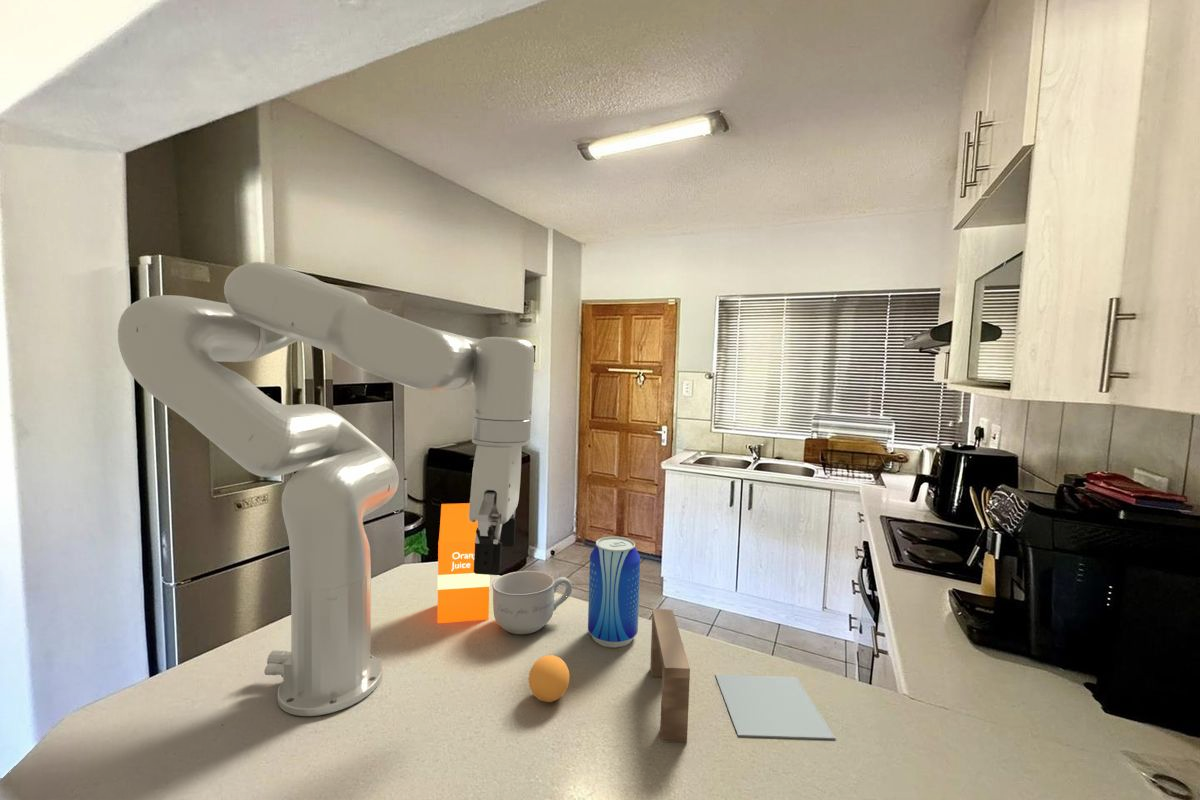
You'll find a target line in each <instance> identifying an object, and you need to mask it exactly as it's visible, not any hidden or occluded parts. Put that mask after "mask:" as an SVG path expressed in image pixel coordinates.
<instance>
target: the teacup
mask: <svg viewBox="0 0 1200 800" xmlns="http://www.w3.org/2000/svg"><path fill="white" fill-rule="evenodd" d="M561 584H564V585H565V590H564V592H563V593H562V595H561V596H559V597H558V598H557V599H555V593H556V591H557V588H558V587H559V585H561ZM491 586H492V606H493V617H494V620H495V621H496V623H497V625H499V626H500V627H501V628H502V629H504V630H505V631H507V632H508V633H511V634H515V635H527V634H533V633H535V632H538V631H539V630H542V628H543V627H544V626H545V625H546V624H548V622H549V621H550V620H551V618H552V616H553V614H554V612H555V611H556V610H557V608H558V607H559V606H560V605H561V604H563V603H564V602H566V601H567V600H568V599H569V598H570V596H571V594H572V591H573V585H572V582H571V581H570V579H568V578H567V577H565V576H560V577H559V576H558V578H556V579H554V577H553V576H552V575H550V574H549V573H546V572H543V571H537V570H520V571H513V572H509V573H506V574H503V575H500V576H499V577H497V578H495V579H494V581H493V582H492V584H491ZM566 596H567V597H566Z"/></svg>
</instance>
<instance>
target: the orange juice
mask: <svg viewBox="0 0 1200 800" xmlns="http://www.w3.org/2000/svg"><path fill="white" fill-rule="evenodd" d="M469 506H470V502H467V503H465V502H464V503H441V507H440V519H439V520H440V521H439V523H440V524H439V534H438V535H439V536H438V543H437V545H438V548H437V550H438V551H437V552H438V553H437V557H438V559H437V624H448V623H458V622H459V623H461V622H470V621H471V622H472V621H484V620H485V621H486V620H489V619H490V615H489V614H490V582H491V581H490V578H491V575H484V574H475V573H474V552H475V537H476V530H477V529H476V528H477V527H478V521H477V520H476V521H475V522H471V521H470V520H469Z"/></svg>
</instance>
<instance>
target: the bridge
mask: <svg viewBox="0 0 1200 800" xmlns="http://www.w3.org/2000/svg"><path fill="white" fill-rule="evenodd" d="M651 614H652V615H651V636H650V637H651V638H650V640H651V641H650V674H651V675H650V676H651V678H661V695H660V696H661V697H660V698H661V701H660V703H661V704H660V725H659V728H660V729H659V730H660V735H661V737H662V738H661V742H662V741H667V742H666V743H672V742H671V741H674V742H673V743H688V730H689V729H688V726H689V704H690V699H689V698H690V682H691V678H690V676H691V668H690V664H689V660H688V657H687V654H686V651H685V647H684V643H683V640H682V635H681V634H680V631H679V627H678V623H677V620H676V617H675V614H674V610H673V609H668V608H667V609H663V608H653V609H652V611H651Z"/></svg>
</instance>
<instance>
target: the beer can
mask: <svg viewBox="0 0 1200 800" xmlns="http://www.w3.org/2000/svg"><path fill="white" fill-rule="evenodd" d="M588 574H589V575H588V576H589V577H588V578H589V581H588V609H587V611H588V612H587V614H588V615H587V631H588V633H589V634H590V635H591V637H592V639H593V640H594V642H595V643H597V644H598V645H599V646H602V647H606V648H623V647H626V646H628V645H629V644H630V643H631V642H632V641H633V639H634V638H635V637H637V634H638V632H639V631H638V630H639V609H640V607H639V606H640V603H639V602H640V579H641V556H640V554H639V552H638V550H637V548H636V543H635V541H634V540H632V539H630V538H627V537H624V536H604V537H601V538H598V539H597V540H596V542H595V546H594V547H593V549H592V551H591V553H590V555H589V573H588Z"/></svg>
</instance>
